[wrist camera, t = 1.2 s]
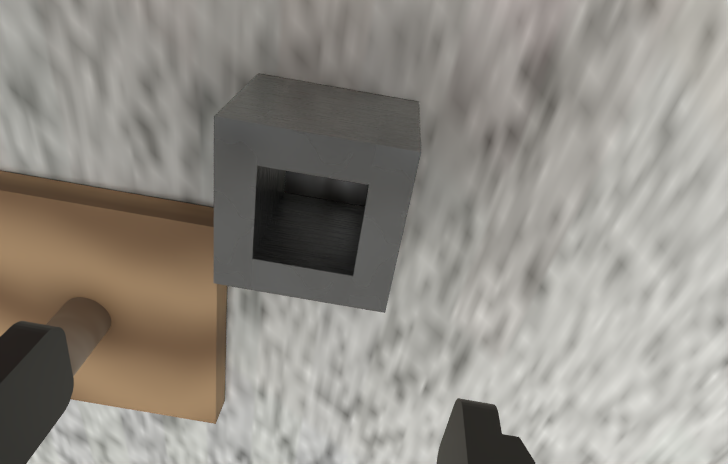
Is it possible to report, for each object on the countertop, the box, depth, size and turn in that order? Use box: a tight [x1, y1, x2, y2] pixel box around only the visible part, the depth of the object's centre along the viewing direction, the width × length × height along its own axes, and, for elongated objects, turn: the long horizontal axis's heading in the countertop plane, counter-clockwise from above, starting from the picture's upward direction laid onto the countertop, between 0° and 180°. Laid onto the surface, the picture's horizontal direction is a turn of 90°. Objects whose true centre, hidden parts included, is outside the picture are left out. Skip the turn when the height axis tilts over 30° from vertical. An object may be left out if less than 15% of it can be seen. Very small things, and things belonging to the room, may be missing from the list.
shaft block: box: [0, 171, 227, 424], centre depth 21 cm, size 12×12×8 cm
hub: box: [213, 74, 421, 313], centre depth 19 cm, size 6×6×5 cm
